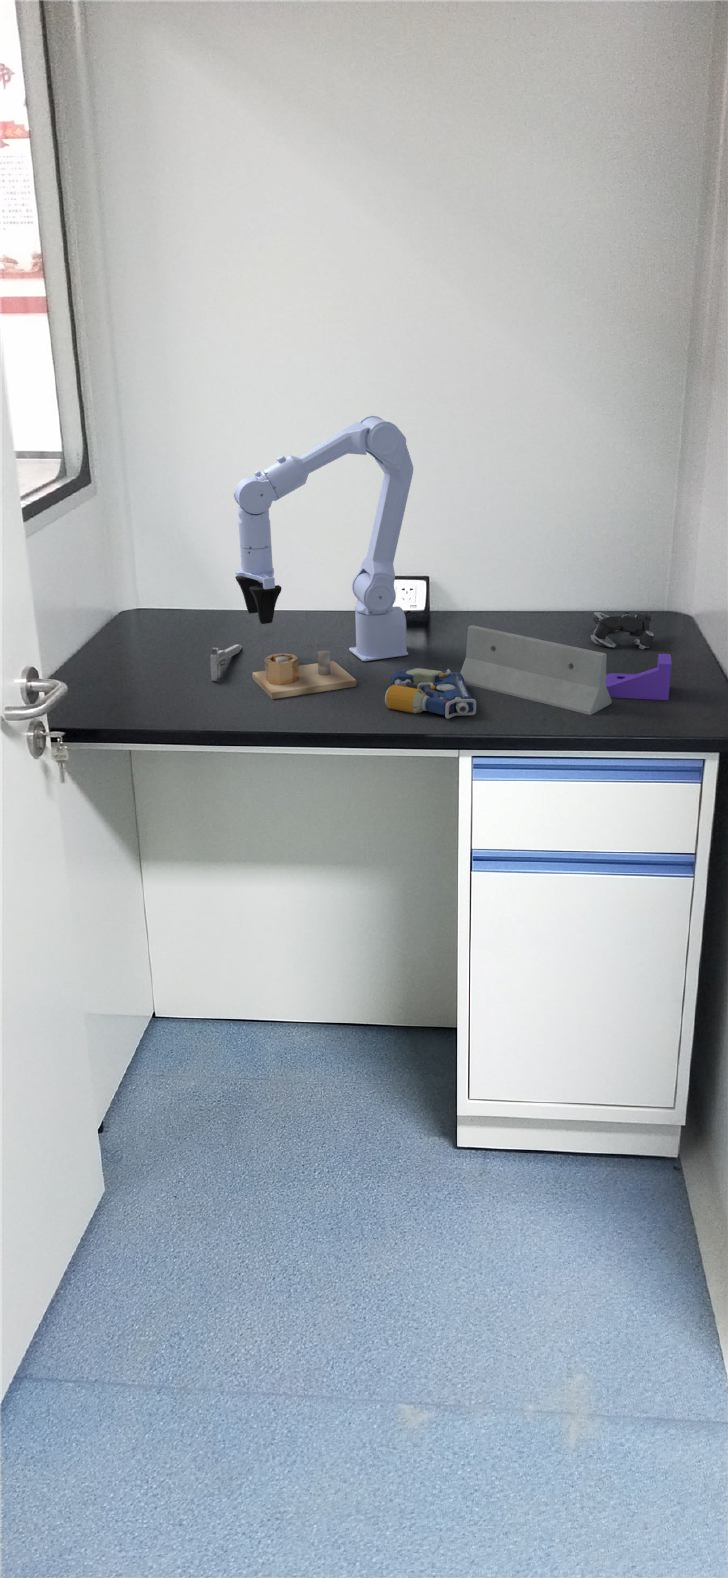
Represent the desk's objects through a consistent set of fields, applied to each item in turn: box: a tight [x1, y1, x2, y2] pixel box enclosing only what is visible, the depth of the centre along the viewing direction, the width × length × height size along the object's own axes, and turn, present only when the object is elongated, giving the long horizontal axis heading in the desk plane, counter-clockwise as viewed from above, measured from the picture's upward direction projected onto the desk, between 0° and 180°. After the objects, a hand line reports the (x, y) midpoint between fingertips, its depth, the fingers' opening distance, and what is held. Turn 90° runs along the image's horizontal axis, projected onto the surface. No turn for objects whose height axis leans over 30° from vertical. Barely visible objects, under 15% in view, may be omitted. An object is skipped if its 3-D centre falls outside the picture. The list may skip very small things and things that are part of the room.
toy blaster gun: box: [384, 667, 477, 720], centre depth 205 cm, size 21×4×15 cm
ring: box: [263, 652, 299, 685], centre depth 213 cm, size 6×6×4 cm
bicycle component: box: [590, 611, 656, 650], centre depth 234 cm, size 12×7×15 cm
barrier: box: [459, 624, 613, 716], centre depth 206 cm, size 28×7×10 cm, turn 50°
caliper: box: [209, 644, 243, 682], centre depth 225 cm, size 20×1×6 cm, turn 172°
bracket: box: [606, 653, 673, 701], centre depth 206 cm, size 12×7×7 cm, turn 78°
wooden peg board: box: [251, 650, 357, 700], centre depth 214 cm, size 16×12×5 cm
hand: (260, 617), depth 221 cm, fingers open, 7 cm apart
